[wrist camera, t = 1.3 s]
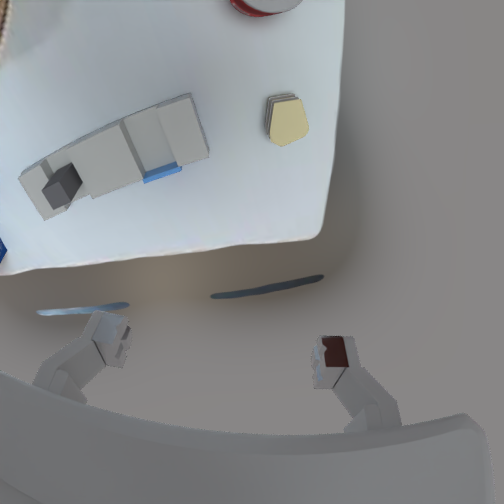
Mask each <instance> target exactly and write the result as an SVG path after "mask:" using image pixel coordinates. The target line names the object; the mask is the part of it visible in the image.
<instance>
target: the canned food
mask: <svg viewBox="0 0 504 504" xmlns="http://www.w3.org/2000/svg"><path fill="white" fill-rule="evenodd" d="M302 1H303V0H230V2H231V3H232V5H233V6H234V7H235V8H236V9H237V10H238V11H240V12H241V13H243V14H246V15H249V16H254V17H263V16H269V15H273V14H278V13H282V12H285V11H289V10H291V9H293V8H295V7H296V6H297V5H299V4H300V3H301V2H302Z"/></svg>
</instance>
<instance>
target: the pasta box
mask: <svg viewBox="0 0 504 504" xmlns="http://www.w3.org/2000/svg"><path fill="white" fill-rule="evenodd" d="M6 252H7V249H6V247H5V246H4V244H3V242H2V240H1V238H0V263H1V261H2V259H3V257H4V255H5V253H6Z"/></svg>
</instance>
